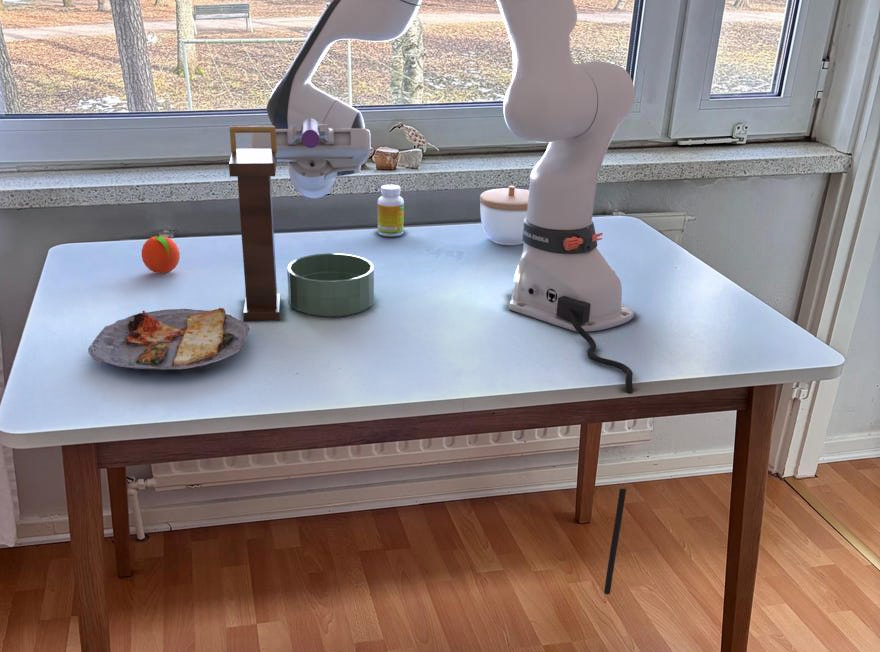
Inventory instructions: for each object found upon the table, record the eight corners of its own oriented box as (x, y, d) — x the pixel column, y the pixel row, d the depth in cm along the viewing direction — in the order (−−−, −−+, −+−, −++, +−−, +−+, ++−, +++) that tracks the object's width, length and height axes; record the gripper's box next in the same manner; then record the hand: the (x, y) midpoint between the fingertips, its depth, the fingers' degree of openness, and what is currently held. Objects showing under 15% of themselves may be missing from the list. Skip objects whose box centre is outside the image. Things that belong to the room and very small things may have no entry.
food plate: (121, 318, 168) (118, 298, 166) (259, 321, 167) (257, 301, 165) (74, 381, 146) (70, 359, 144) (233, 385, 146) (231, 363, 144)
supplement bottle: (403, 237, 208) (403, 190, 203) (377, 237, 208) (377, 189, 203) (403, 229, 212) (404, 183, 207) (378, 229, 212) (378, 183, 207)
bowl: (390, 307, 173) (390, 271, 170) (316, 324, 166) (315, 287, 163) (345, 282, 184) (344, 248, 180) (274, 298, 176) (272, 262, 173)
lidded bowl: (474, 247, 203) (477, 192, 197) (480, 229, 213) (483, 177, 208) (537, 251, 201) (542, 196, 195) (540, 233, 212) (544, 180, 206)
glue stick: (302, 135, 169) (301, 118, 167) (319, 135, 169) (318, 118, 168) (302, 148, 159) (301, 129, 157) (319, 148, 159) (319, 129, 158)
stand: (243, 301, 175) (230, 123, 160) (284, 300, 176) (275, 123, 160) (239, 322, 167) (226, 137, 151) (283, 321, 167) (273, 137, 152)
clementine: (189, 276, 186) (186, 238, 182) (154, 283, 182) (150, 244, 179) (172, 264, 191) (168, 227, 188) (138, 270, 188) (133, 233, 184)
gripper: (252, 138, 177) (246, 110, 163) (367, 137, 178) (371, 109, 164) (253, 173, 177) (247, 148, 163) (368, 172, 178) (372, 148, 164)
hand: (310, 129), depth 164 cm, fingers closed on glue stick, 3 cm apart
